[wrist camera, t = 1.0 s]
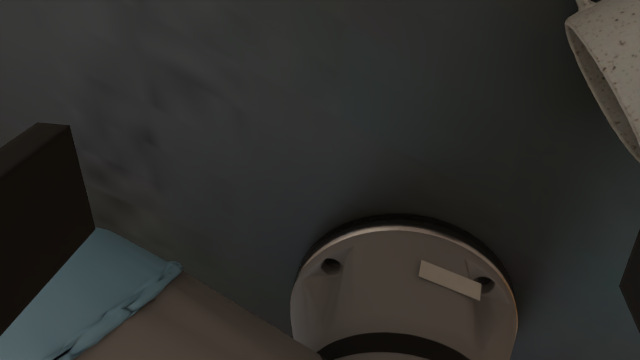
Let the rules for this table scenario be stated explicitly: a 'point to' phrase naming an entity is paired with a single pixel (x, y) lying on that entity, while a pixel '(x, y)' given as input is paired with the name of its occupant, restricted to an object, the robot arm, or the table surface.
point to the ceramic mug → (611, 61)
